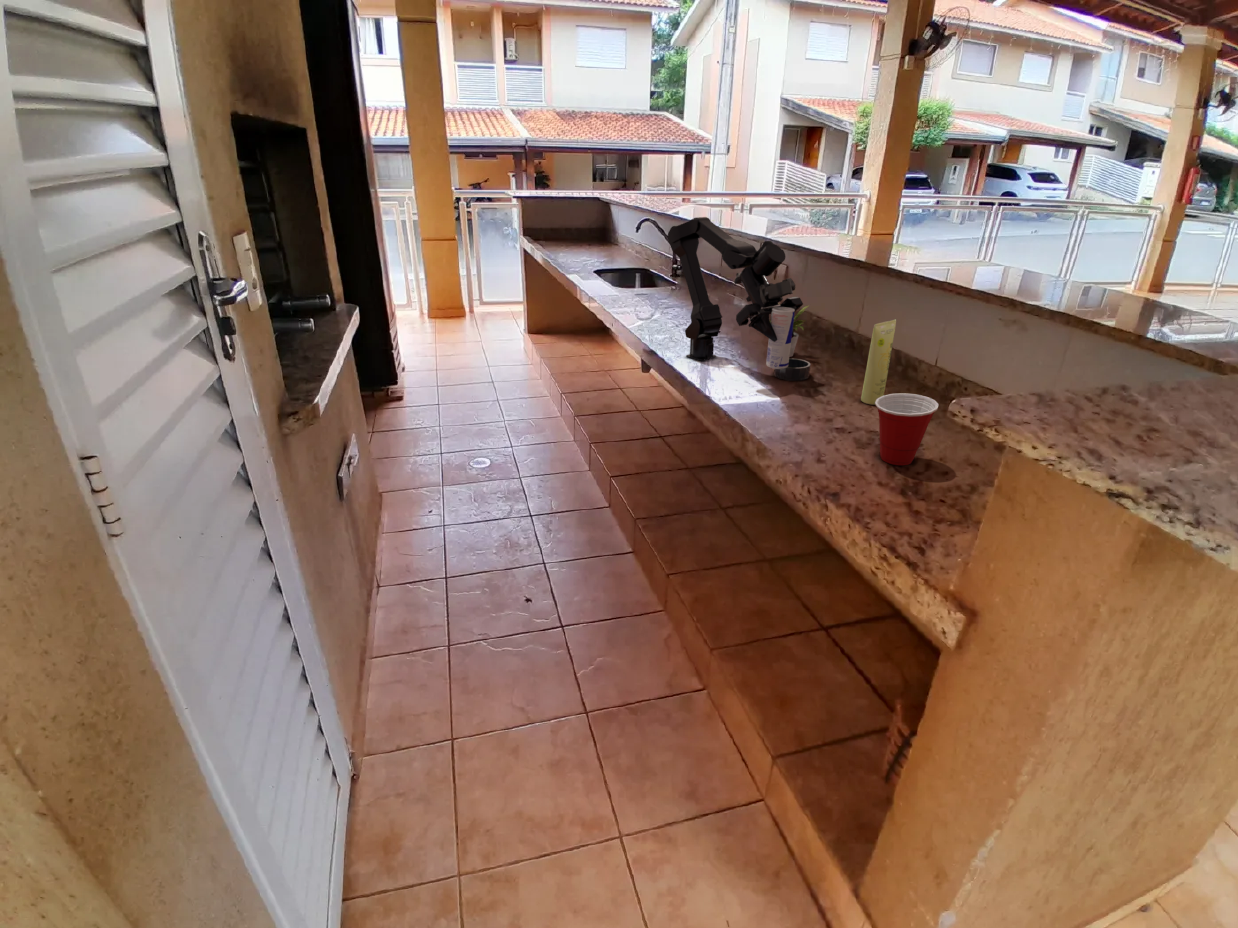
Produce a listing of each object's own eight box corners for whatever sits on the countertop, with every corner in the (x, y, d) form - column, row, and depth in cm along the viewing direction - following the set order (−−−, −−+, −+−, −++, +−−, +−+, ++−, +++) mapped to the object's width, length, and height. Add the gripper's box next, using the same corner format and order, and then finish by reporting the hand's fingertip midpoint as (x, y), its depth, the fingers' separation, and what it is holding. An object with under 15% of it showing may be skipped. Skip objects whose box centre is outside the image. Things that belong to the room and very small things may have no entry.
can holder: (767, 375, 168) (768, 363, 167) (786, 368, 174) (787, 356, 172) (796, 383, 162) (797, 370, 160) (815, 375, 167) (817, 363, 166)
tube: (883, 407, 145) (898, 324, 137) (860, 405, 147) (874, 323, 138) (881, 399, 150) (896, 319, 142) (859, 397, 152) (873, 318, 143)
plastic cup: (856, 449, 124) (865, 392, 119) (907, 446, 125) (919, 390, 120) (881, 473, 114) (892, 413, 109) (936, 470, 115) (951, 410, 110)
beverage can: (789, 370, 157) (797, 311, 150) (767, 369, 157) (773, 311, 151) (786, 363, 162) (793, 306, 155) (764, 363, 162) (770, 306, 156)
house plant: (751, 358, 183) (756, 303, 176) (760, 347, 194) (765, 294, 187) (801, 363, 178) (807, 306, 171) (806, 351, 189) (813, 297, 182)
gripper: (747, 271, 147) (776, 326, 144) (802, 264, 156) (830, 316, 153) (723, 299, 157) (750, 351, 153) (776, 291, 166) (802, 340, 162)
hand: (784, 339), depth 155 cm, fingers closed on beverage can, 5 cm apart
